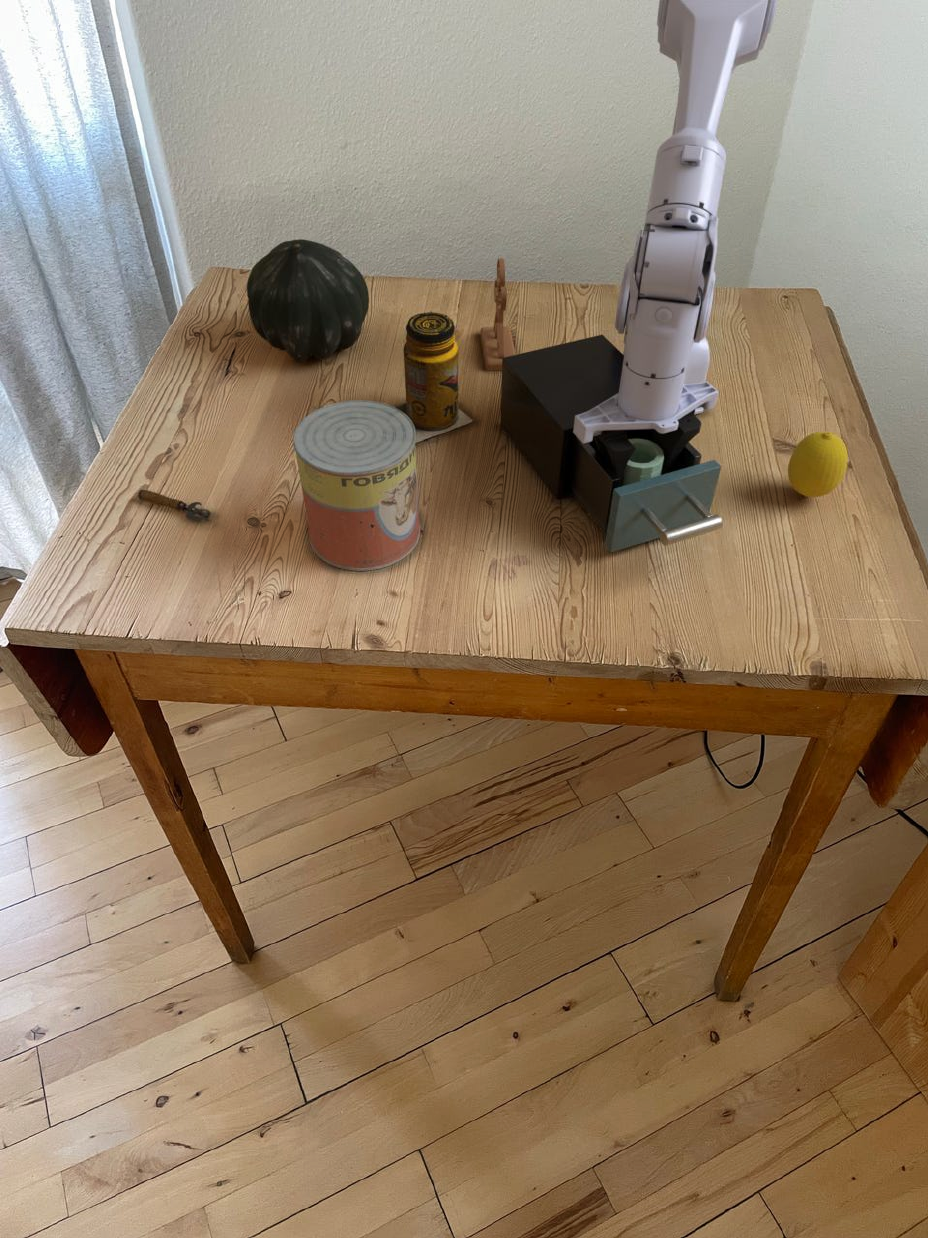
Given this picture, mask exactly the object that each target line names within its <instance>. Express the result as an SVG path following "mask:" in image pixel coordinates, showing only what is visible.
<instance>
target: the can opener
mask: <svg viewBox="0 0 928 1238" xmlns="http://www.w3.org/2000/svg"><path fill="white" fill-rule="evenodd" d="M137 497H138V499H140V500H141V501H144V502H146V503H151V504H153V505H157V506H162V507H165V508H166V507H167V508H170V509H172V510H176V511H178V512H184V516H185V518H186V519H187V520H189V521H190V522H191V521H192V522H196V523H207V522H211V521H212V520H211V519H209V518H210V516H211V514H212V513H211V511H210V510H209V509H207V508H198V507H196V506H200V507H202V506H203V504H202V503H201V502H200V501H194V502H191V503H189V504H187V503H186V502H184V501H182V500H179V499H175V498H171V497H168V496H166V495H164V494H161V493H158V492H155V491H151V490H146V489H140V490H139V491H138V494H137ZM198 515H199V516H198Z"/></svg>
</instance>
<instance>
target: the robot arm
mask: <svg viewBox="0 0 928 1238" xmlns="http://www.w3.org/2000/svg"><path fill="white" fill-rule="evenodd" d="M778 1H779V0H659V2H658V8H657V16H656V17H657V19H656V26H657V43H658V44H659V53H660V54H662V55H664V56H665V57H667V58H669V59H671V60H672V61H675V63H676V66H677V72H678V78H679V83H678V95H677V102H676V109H675V115H674V120H673V128H672V134H671V135H670V137H668V138H667V139H666V140H665V141H664V142H662V143H661V145H660V146H659V147H658V149H657V151H656V154H655V155H656V156H655V161H654V167H653V174H652V180H651V184H650V192H649V197H648V201H647V207H646V212H645V213H646V214H645V218H644V225H643V230H642V229H639V230H638V233H637V236H636V240H635V245H634V249H633V255H632V256H630V257H629V259H628V262H626V263H625V266H624V271H623V277H622V279H621V283H620V288H619V293H618V294H619V295H618V299H617V307H616V313H615V321H614V328H615V330H616V331H617V333H618V334H619V335H624V337H623V344H624V345H623V351H622V354H623V355H624V360H623V367H622V374H621V381H620V388H619V393H618V394H616V395H614V396H613V397H611V398H609V399H608V400H606V401H604V402H603V403H601V404H599V405H598V406H596V407H594V408H593V409H591V410H589V411H587V412H584V413H582V414H579V415H575V421H574V430H573V433H574V434H575V435H576V436H577V437H578V439H579V440H580V441H581V442H582V443H583V444H584V443H588V442H591V441H592V439H594V441H595V443H596V446H597V449H598V452H599V455H600V457H601V458H602V459H603V460H604V461H605V463H606V464H607V465H608V466H609V467H610V468H611V469H612V471H613V472H614V473H615V474H616V475H617V476H618V477H619V485H618V487H622V484H623V479H624V474H625V469H626V466H627V463H628V461H629V459H630V457H631V455H632V453H633V452H634V450H635V449H636V448H635V447H634V446H633V445H632V443H631V442H630V441H629V440H628V439H627V435H628V434H627V433H625V430H634V429H653V441H652V442H653V443H655V444H657V445H658V446H659V447H660V448H661V449H662V450H663V454H664V460H663V465H662V470H661V475H663V474H667V473H668V472H669V470H670V469H671V467H672V465H673V463H674V462H675V460H676V458H677V457H678V455H679V454H680V452H681V451H682V450H683V448H684V447H685V446H686V445H687V444H688V442H689V443H690V442H691V441H692V440H693V439H694V438H695V437H696V436H697V435H698V434H699V433H700V431H701V428H702V421H701V420H700V419H699V418H698V417H697V416H696V415H699V414H702V413H703V412H704V411H710V410H714V409H716V405H717V401H718V397H719V390H718V389H717V388H716V387H714V386H713V385H712V384H711V383H710V382H709V381H706V379H707V377H708V371H709V367H710V363H711V362H710V360H711V351H710V346H709V342H708V340H707V338H706V334H707V330H708V326H709V322H710V317H711V311H712V306H713V299H714V292H715V282H716V274H717V273H716V272H715V265H716V259H717V253H718V245H719V244H718V226H719V216H718V210H719V205H720V200H721V199H720V198H721V193H722V187H723V179H724V175H725V174H724V173H725V170H726V169H725V168H726V163H727V152H726V150H725V148H724V147H723V145H722V144H721V142H720V141H719V140H718V138H717V137H716V136H717V133H718V132H717V131H718V127H719V121H720V118H721V115H722V111H723V106H724V103H725V100H726V99H725V98H726V95H727V91H728V88H729V83H730V79H731V77H732V75H733V73H734V71H735V70H736V68H737V67H738V66H741V65H745V64H747V63H750V62H753V61H755V60H757V59H758V58H759V54H760V51H762V50H763V49H764V47H765V43H766V41H767V38H768V35H769V34H770V33H771V30H772V28H773V23H774V19H775V14H776V11H777V7H778Z"/></svg>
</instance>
